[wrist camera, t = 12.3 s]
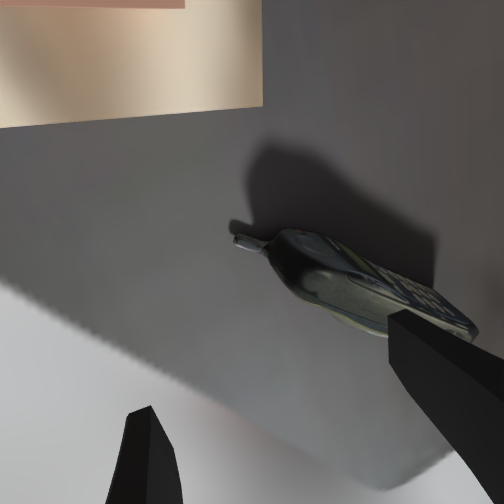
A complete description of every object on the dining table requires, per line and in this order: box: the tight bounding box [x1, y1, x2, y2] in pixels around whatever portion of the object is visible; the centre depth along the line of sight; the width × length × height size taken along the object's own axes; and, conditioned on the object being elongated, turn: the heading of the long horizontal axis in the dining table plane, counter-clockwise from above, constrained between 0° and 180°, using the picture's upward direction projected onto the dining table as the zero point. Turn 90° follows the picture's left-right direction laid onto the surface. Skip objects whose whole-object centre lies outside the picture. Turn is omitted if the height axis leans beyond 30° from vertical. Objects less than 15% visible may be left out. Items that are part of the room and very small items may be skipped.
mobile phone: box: [233, 228, 479, 343], centre depth 23 cm, size 5×3×15 cm
